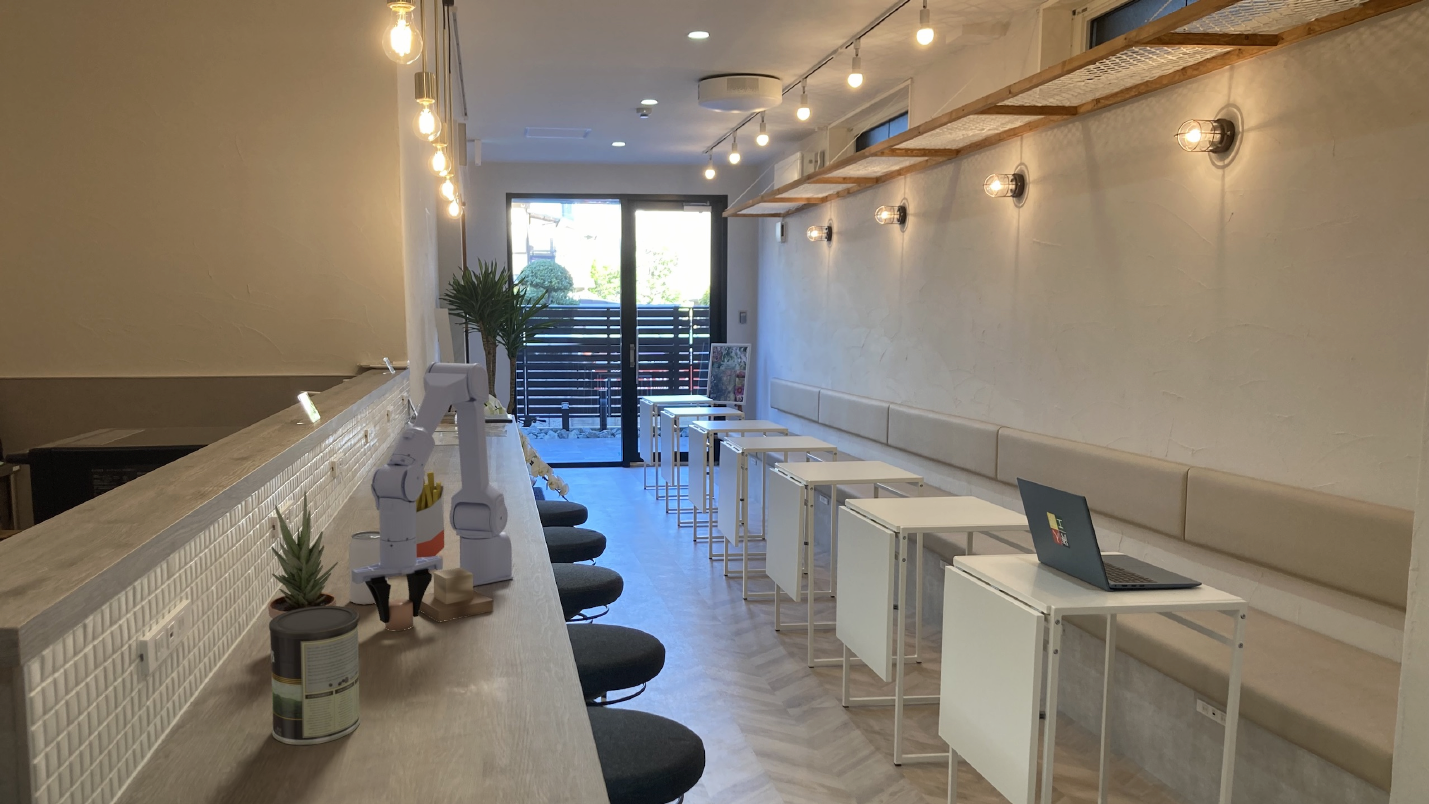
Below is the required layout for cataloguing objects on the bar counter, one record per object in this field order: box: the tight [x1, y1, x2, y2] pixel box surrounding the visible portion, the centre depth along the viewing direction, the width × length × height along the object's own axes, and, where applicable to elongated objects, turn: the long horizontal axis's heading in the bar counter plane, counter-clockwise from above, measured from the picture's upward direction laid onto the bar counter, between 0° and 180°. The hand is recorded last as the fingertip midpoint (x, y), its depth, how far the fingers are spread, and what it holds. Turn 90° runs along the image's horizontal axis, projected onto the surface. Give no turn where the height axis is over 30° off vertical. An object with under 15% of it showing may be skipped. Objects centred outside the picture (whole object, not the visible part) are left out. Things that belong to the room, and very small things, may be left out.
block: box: [433, 567, 474, 604], centre depth 165 cm, size 5×5×4 cm
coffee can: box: [268, 605, 361, 746], centre depth 118 cm, size 10×10×14 cm
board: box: [419, 589, 494, 623], centre depth 165 cm, size 10×10×2 cm
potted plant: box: [267, 490, 339, 620], centre depth 145 cm, size 10×10×25 cm
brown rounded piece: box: [384, 598, 414, 631], centre depth 156 cm, size 4×4×4 cm
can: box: [348, 530, 389, 605], centre depth 169 cm, size 6×6×12 cm
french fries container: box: [416, 471, 445, 558], centre depth 198 cm, size 5×11×18 cm, turn 108°
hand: (399, 618), depth 156 cm, fingers closed on brown rounded piece, 4 cm apart
